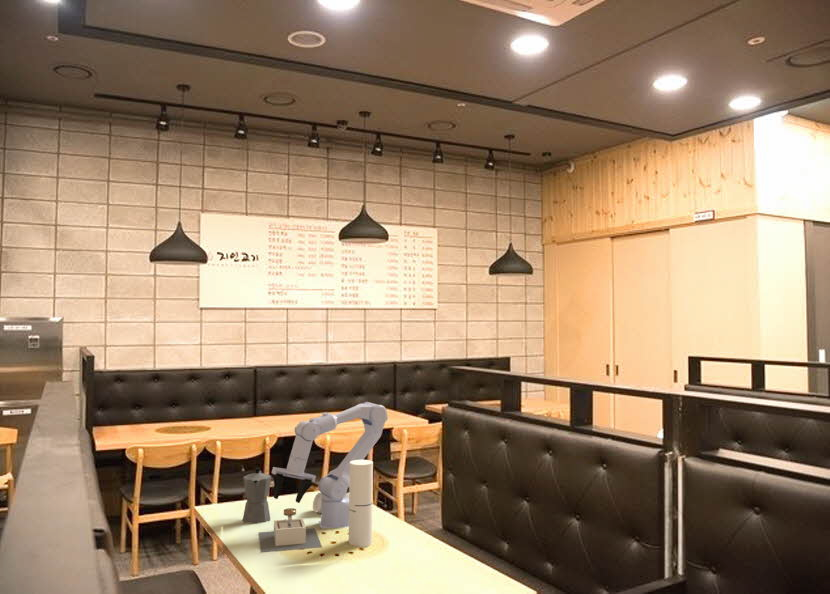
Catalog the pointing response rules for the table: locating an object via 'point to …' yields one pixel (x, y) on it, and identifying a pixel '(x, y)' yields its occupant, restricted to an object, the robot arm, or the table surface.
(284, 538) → the press
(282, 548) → the mat
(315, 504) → the spread jar
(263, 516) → the coffeepot
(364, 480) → the cylindrical container
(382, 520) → the table surface
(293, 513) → the plunger
